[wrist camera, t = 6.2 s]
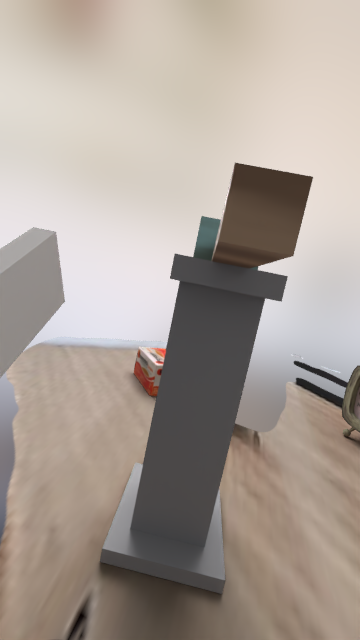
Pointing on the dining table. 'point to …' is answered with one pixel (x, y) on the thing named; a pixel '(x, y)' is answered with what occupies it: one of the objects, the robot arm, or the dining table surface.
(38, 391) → the dining table surface
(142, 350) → the medicine box
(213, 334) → the stand
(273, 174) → the mallet
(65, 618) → the dining table surface
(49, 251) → the robot arm
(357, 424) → the tabletop clock
